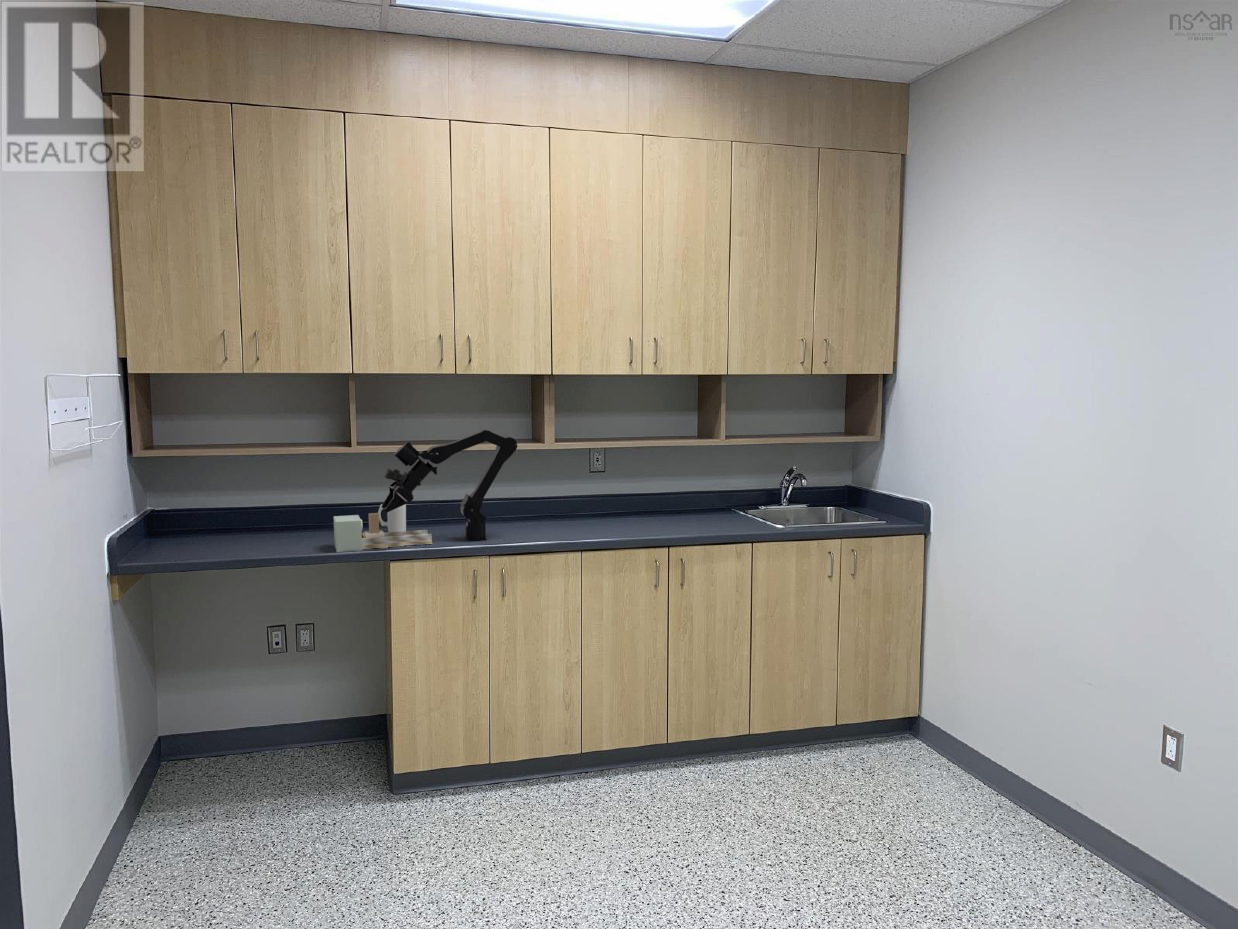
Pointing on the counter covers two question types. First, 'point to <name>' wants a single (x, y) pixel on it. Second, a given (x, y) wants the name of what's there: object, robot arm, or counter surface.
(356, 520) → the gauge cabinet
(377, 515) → the brown post on base
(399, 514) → the mug
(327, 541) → the counter surface
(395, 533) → the patterned tray
